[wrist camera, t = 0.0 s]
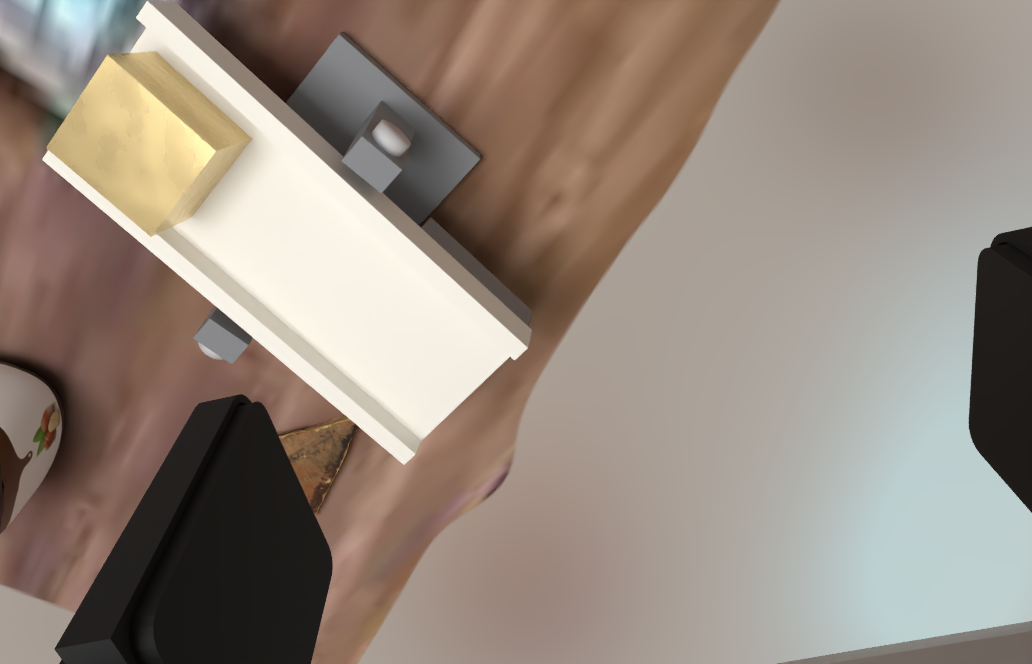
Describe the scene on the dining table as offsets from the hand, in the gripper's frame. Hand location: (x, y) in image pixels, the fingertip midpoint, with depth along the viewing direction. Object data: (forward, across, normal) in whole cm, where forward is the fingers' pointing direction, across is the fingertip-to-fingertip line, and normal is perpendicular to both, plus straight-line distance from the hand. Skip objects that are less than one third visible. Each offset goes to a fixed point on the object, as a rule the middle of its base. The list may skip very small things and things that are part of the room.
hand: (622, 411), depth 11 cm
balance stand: (+37, +14, +7) cm, 40 cm away
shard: (+38, +23, +24) cm, 51 cm away
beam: (+35, +13, +8) cm, 39 cm away
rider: (+32, +18, +1) cm, 37 cm away
